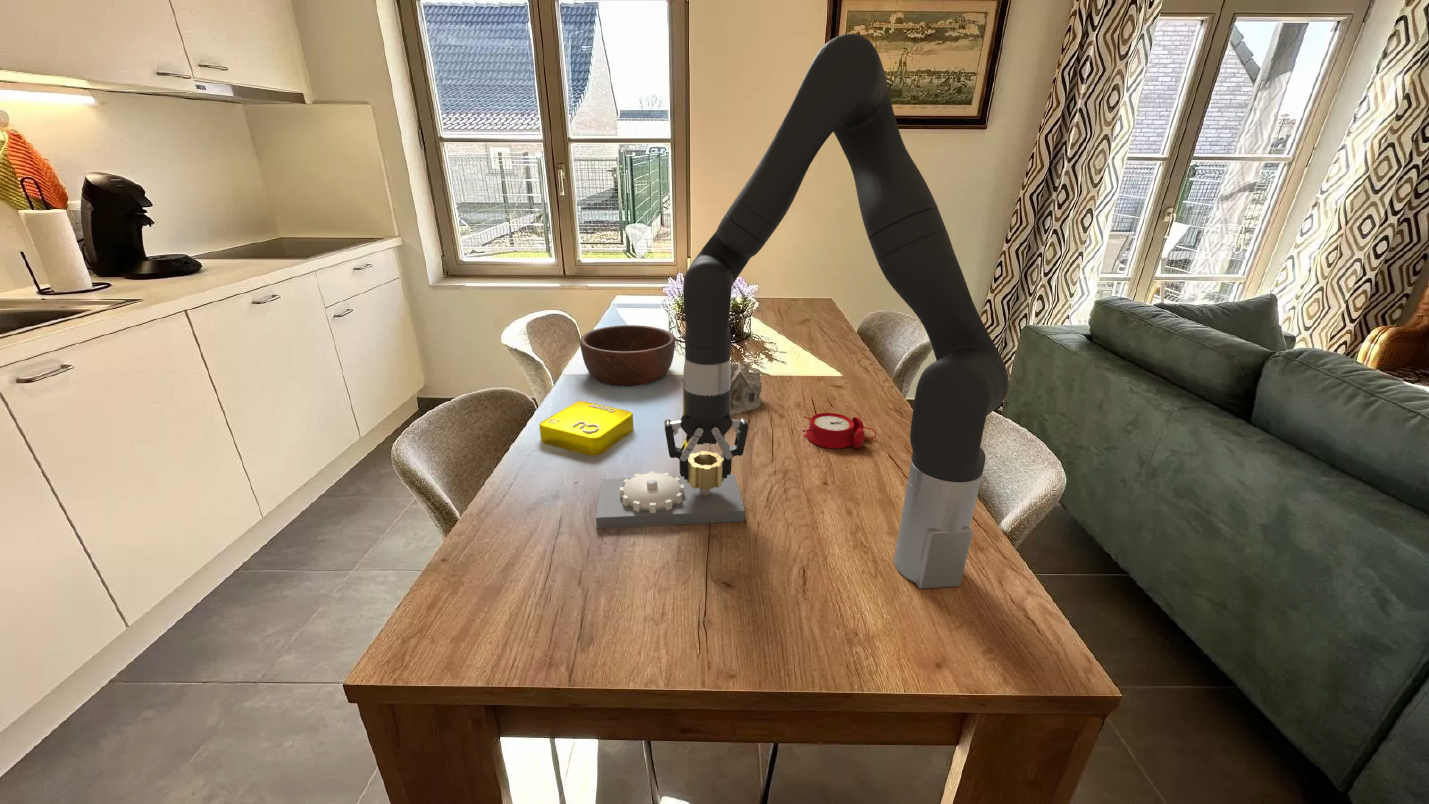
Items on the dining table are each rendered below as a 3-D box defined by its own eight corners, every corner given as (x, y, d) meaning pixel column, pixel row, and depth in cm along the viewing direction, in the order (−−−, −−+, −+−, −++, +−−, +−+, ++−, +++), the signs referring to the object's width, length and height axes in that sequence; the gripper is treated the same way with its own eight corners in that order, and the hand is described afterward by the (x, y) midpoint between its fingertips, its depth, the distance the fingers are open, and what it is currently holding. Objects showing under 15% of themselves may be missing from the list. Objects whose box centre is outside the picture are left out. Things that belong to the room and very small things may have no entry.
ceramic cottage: (687, 414, 137) (692, 351, 131) (703, 390, 152) (708, 334, 146) (754, 425, 134) (762, 362, 129) (763, 400, 149) (771, 343, 144)
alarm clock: (802, 411, 131) (871, 402, 128) (806, 436, 134) (874, 428, 130) (801, 431, 122) (875, 422, 119) (805, 458, 124) (879, 450, 121)
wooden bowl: (631, 353, 177) (630, 319, 173) (694, 373, 162) (694, 337, 158) (562, 374, 159) (559, 337, 155) (626, 399, 144) (625, 359, 140)
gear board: (744, 521, 98) (746, 482, 95) (596, 528, 95) (594, 488, 92) (733, 483, 109) (735, 447, 106) (601, 488, 106) (599, 452, 103)
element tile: (637, 429, 130) (636, 409, 128) (597, 459, 117) (595, 437, 115) (580, 416, 135) (579, 397, 133) (536, 443, 123) (534, 422, 121)
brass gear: (725, 489, 98) (726, 468, 97) (687, 491, 98) (688, 469, 96) (721, 470, 104) (721, 450, 103) (685, 471, 104) (685, 451, 102)
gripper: (662, 394, 90) (663, 490, 96) (755, 392, 91) (750, 486, 98) (660, 377, 97) (662, 467, 103) (747, 375, 98) (743, 464, 105)
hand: (705, 476), depth 101 cm, fingers closed on brass gear, 6 cm apart
